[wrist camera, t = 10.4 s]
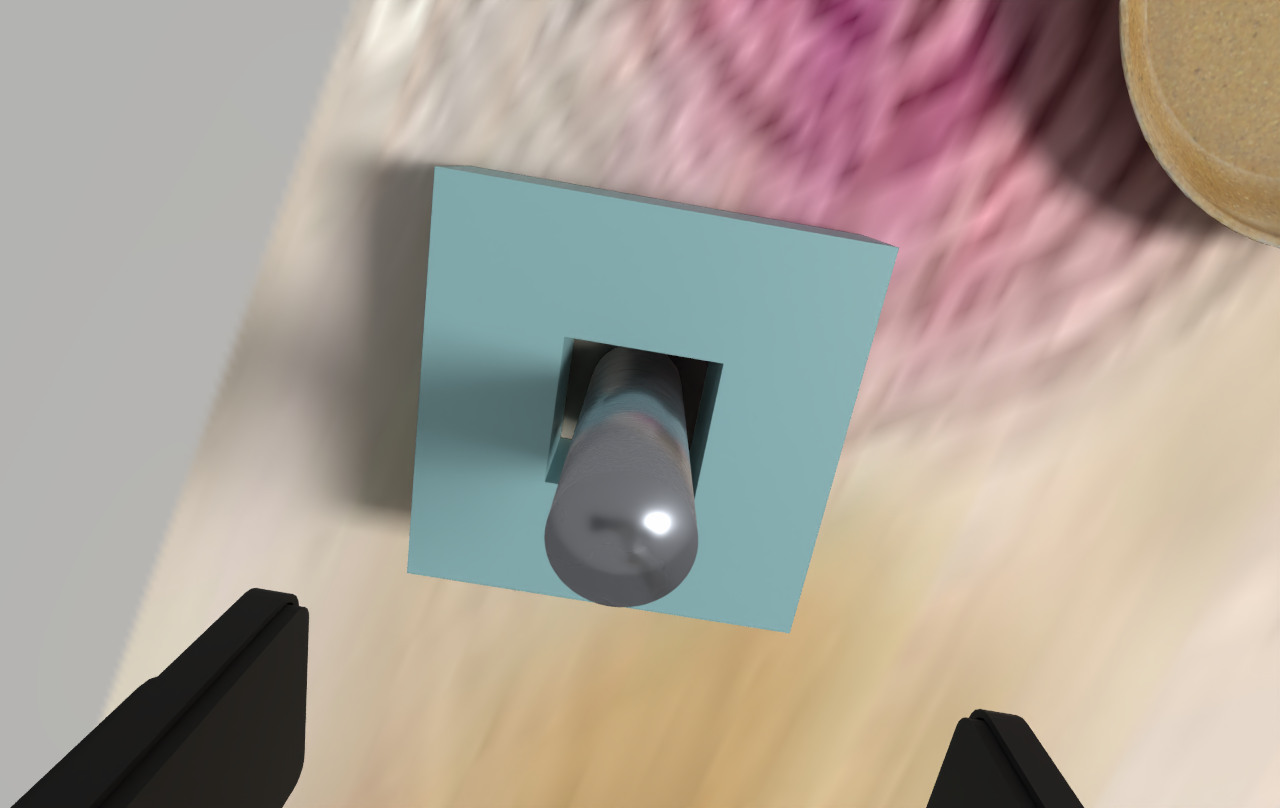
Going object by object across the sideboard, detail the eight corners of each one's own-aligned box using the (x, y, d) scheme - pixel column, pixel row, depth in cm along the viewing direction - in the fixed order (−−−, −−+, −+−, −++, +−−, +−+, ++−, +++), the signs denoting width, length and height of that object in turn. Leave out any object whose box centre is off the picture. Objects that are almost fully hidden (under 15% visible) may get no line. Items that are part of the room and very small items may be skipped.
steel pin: (689, 351, 23) (712, 484, 13) (672, 436, 24) (682, 617, 14) (597, 336, 23) (554, 459, 13) (584, 422, 24) (535, 594, 14)
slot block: (861, 234, 21) (898, 247, 18) (772, 571, 25) (789, 633, 22) (469, 165, 21) (434, 166, 18) (440, 518, 25) (407, 573, 22)
